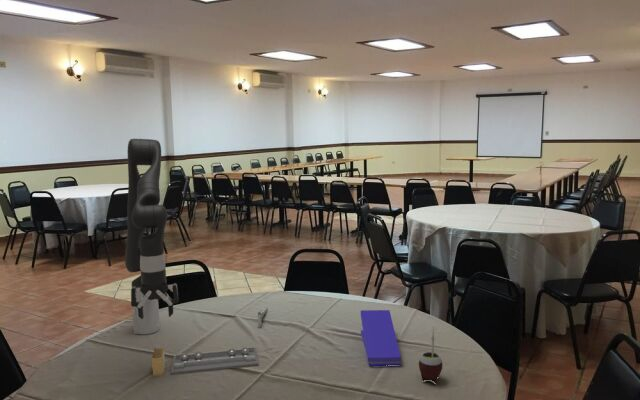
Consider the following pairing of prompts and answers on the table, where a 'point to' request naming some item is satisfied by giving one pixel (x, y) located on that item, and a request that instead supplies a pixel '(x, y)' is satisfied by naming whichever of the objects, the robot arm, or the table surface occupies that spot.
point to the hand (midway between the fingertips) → (156, 317)
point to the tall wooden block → (158, 361)
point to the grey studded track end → (233, 357)
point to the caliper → (261, 317)
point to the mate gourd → (430, 364)
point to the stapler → (379, 338)
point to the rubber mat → (214, 366)
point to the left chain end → (197, 361)
